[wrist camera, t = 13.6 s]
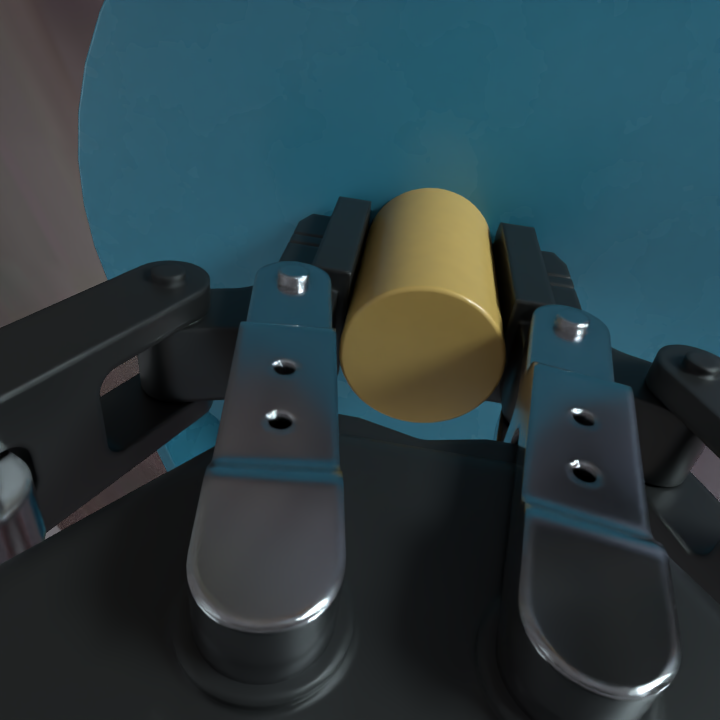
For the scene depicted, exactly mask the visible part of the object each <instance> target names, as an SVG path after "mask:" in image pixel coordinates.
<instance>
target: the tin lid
mask: <svg viewBox="0 0 720 720" xmlns="http://www.w3.org/2000/svg"><path fill="white" fill-rule="evenodd" d="M78 162H79V170H80V178H81V186H82V194H83V201H84V207H85V211H86V215H87V219H88V222H89V226H90V230H91V234H92V238H93V242H94V246H95V249H96V251H97V254H98V256H99V259H100V261H101V264H102V266H103V269H104V272H105V274H106V277H107V279H108V280H110V279H112V278H114V277H116V276H119V275H121V274H123V273H125V272H128V271H130V270H132V269H134V268H137V267H139V266H141V265H144V264H147V263H151V262H156V261H165V260H173V261H183V262H188V263H192V264H194V265H197V266H199V267H201V268H203V269H204V270H205V271H206V272H207V273H208V274H209V277H210V289H217V288H243V287H249V286H253V284H254V279H255V275H256V272H257V271H258V270H259V269H260V268H261V267H263V266H265V265H268V264H270V263H274V262H279V260H280V258H281V256H282V254H283V252H284V250H285V248H286V246H287V244H288V242H290V238H291V237H292V235H293V234H294V231H295V229H296V227H297V225H298V223H299V221H301V220H302V219H304V218H306V217H308V216H310V215H312V214H318V215H325V216H331V215H332V213H333V211H334V208H335V206H336V203H337V201H338V198H339V196H342V197H348V198H354V199H360V200H367V201H371V212H370V220H369V227H368V234H367V239H366V243H365V247H364V251H363V255H362V258H361V262H360V266H359V270H358V274H357V277H356V281H355V285H354V289H353V293H352V296H351V300H350V304H349V308H348V312H347V315H346V319H345V323H344V327H343V330H342V334H341V338H340V344H339V360H340V369H339V374H338V376H337V383H338V414H342V415H347V416H353V417H359V418H362V419H365V420H368V421H371V422H373V423H376V424H379V425H382V426H384V427H387V428H390V429H393V430H396V431H398V432H401V433H404V434H407V435H410V436H412V437H415V438H419V439H423V440H465V439H488V440H493V438H494V432H495V427H496V423H497V420H498V418H499V415H500V412H501V409H502V404H501V403H495V402H489V401H485V400H486V399H487V398H488V397H489V396H490V395H491V394H492V392H493V391H494V390H495V388H496V387H497V385H498V383H499V382H500V380H501V378H502V375H503V372H504V369H505V363H506V347H505V339H504V332H503V324H502V316H501V309H500V301H499V294H498V286H497V279H496V271H495V263H494V256H493V248H492V246H493V243H494V239H495V235H496V232H497V229H498V226H499V224H500V223H501V222H502V223H509V224H515V225H521V226H527V227H533V228H534V229H535V232H536V235H537V239H538V242H539V246H540V249H541V251H546V252H552V253H554V254H555V255H557V256H558V257H559V258H560V259H561V260H562V261H563V262H564V263H565V264H566V265H567V267H568V270H569V273H570V276H571V278H570V279H572V282H573V285H574V289H575V291H576V293H577V296H578V299H579V302H580V305H581V308H582V310H583V311H586V312H588V313H590V314H592V315H593V316H595V317H597V318H598V319H600V320H601V321H602V322H603V323H604V324H605V325H606V326H607V328H608V329H609V332H610V338H611V347H612V348H614V349H616V350H618V351H621V352H623V353H626V354H629V355H631V356H634V357H637V358H640V359H643V360H646V361H649V362H652V363H653V361H654V359H655V357H656V355H657V353H658V351H659V350H660V349H661V348H662V347H664V346H667V345H676V344H678V345H687V346H692V347H696V348H699V349H702V350H705V351H708V352H710V353H712V354H714V355H716V356H718V357H720V0H105V1H104V3H103V5H102V7H101V10H100V12H99V16H98V19H97V23H96V26H95V30H94V33H93V37H92V40H91V44H90V47H89V51H88V54H87V58H86V61H85V68H84V75H83V82H82V89H81V97H80V104H79V111H78ZM223 405H224V400H213V404H212V406H211V408H210V410H209V412H210V413H211V414H213V415H214V416H215V417H216V418H218V419H219V420H220V419H221V414H222V409H223Z"/></svg>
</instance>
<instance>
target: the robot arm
mask: <svg viewBox="0 0 720 720" xmlns="http://www.w3.org/2000/svg"><path fill="white" fill-rule="evenodd" d="M370 212H371V201H367V200H360V199H354V198H348V197H342V196H339V198H338V201H337V203H336V206H335V208H334V211H333V213H332V215H331V216H325V215H318V214H312V215H310V216H308V217H306V218H304V219H302V220H301V221H299V223H298V225H297V227H296V229H295V231H294V234H293V235H292V237H291V238H290V242H288V244H287V246H286V248H285V250H284V252H283V254H282V256H281V258H280V260H279V262H274V263H270V264H268V265H265V266H263V267H261V268H260V269H259V270H258V271H257V272H256V275H255V279H254V284H253V286H249V287H243V288H217V289H210V277H209V274H208V273H207V272H206V271H205V270H204V269H203V268H201V267H199V266H197V265H194V264H192V263H188V262H183V261H173V260H165V261H156V262H151V263H147V264H144V265H141V266H139V267H137V268H134V269H132V270H130V271H128V272H125V273H123V274H121V275H119V276H116V277H114V278H112V279H110V280H107V281H105V282H103V283H101V284H98V285H96V286H94V287H92V288H89V289H87V290H85V291H83V292H80V293H78V294H76V295H74V296H71V297H69V298H67V299H65V300H62V301H60V302H58V303H56V304H53V305H51V306H49V307H47V308H44V309H42V310H40V311H38V312H35V313H33V314H31V315H29V316H26V317H24V318H22V319H20V320H17V321H15V322H13V323H11V324H8V325H6V326H4V327H2V328H0V720H720V502H719V501H718V500H717V499H716V498H715V497H714V496H713V495H712V494H711V493H710V492H709V491H708V489H707V488H706V487H705V486H704V485H703V484H702V483H701V482H700V481H699V480H698V479H697V478H696V477H695V476H694V475H693V474H692V473H691V472H690V471H691V469H692V467H693V466H694V464H695V463H696V461H697V459H698V458H699V456H700V455H701V453H702V451H703V450H704V448H705V446H707V447H708V448H709V449H710V450H711V451H712V452H713V453H714V454H715V455H717V456H718V457H719V458H720V357H718V356H716V355H714V354H712V353H710V352H708V351H705V350H702V349H699V348H696V347H692V346H687V345H678V344H676V345H667V346H664V347H662V348H661V349H660V350H659V351H658V353H657V355H656V357H655V359H654V361H653V363H652V362H649V361H646V360H643V359H640V358H637V357H634V356H631V355H629V354H626V353H623V352H621V351H618V350H616V349H614V348H612V347H611V338H610V332H609V329H608V328H607V326H606V325H605V324H604V323H603V322H602V321H601V320H600V319H598V318H597V317H595V316H593V315H592V314H590V313H588V312H586V311H583V310H582V308H581V305H580V302H579V299H578V296H577V293H576V291H575V289H574V285H573V282H572V279H570V278H571V276H570V273H569V270H568V267H567V265H566V264H565V263H564V262H563V261H562V260H561V259H560V258H559V257H558V256H557V255H555V254H554V253H552V252H546V251H541V249H540V246H539V242H538V239H537V235H536V232H535V229H534V228H533V227H527V226H521V225H515V224H509V223H502V222H501V223H500V224H499V226H498V229H497V232H496V235H495V239H494V243H493V246H492V248H493V256H494V263H495V271H496V279H497V286H498V294H499V301H500V309H501V316H502V324H503V332H504V339H505V347H506V363H505V369H504V372H503V375H502V378H501V380H500V382H499V383H498V385H497V387H496V388H495V390H494V391H493V392H492V394H491V395H490V396H489V397H488V398H487V399H486V400H485V401H489V402H495V403H501V404H502V409H501V412H500V415H499V418H498V420H497V423H496V427H495V432H494V438H493V440H488V439H465V440H423V439H419V438H415V437H412V436H410V435H407V434H404V433H401V432H398V431H396V430H393V429H390V428H387V427H384V426H382V425H379V424H376V423H373V422H371V421H368V420H365V419H362V418H359V417H353V416H347V415H342V414H338V383H337V376H338V374H339V369H340V360H339V344H340V338H341V334H342V330H343V327H344V323H345V319H346V315H347V312H348V308H349V304H350V300H351V296H352V293H353V289H354V285H355V281H356V277H357V274H358V270H359V266H360V262H361V258H362V255H363V251H364V247H365V243H366V239H367V234H368V227H369V220H370ZM136 355H138V364H139V374H137V375H136V376H134V377H132V378H131V379H129V380H128V381H126V382H124V383H123V384H121V385H119V386H118V387H116V388H114V389H113V390H111V391H109V392H108V393H106V394H104V395H103V396H101V397H100V388H101V385H102V383H103V381H104V379H105V378H106V376H107V375H108V374H109V373H110V372H111V371H112V370H113V369H114V368H116V367H117V366H119V365H121V364H123V363H124V362H126V361H128V360H130V359H131V358H133V357H135V356H136ZM213 400H224V405H223V409H222V414H221V419H220V424H219V429H218V434H217V439H216V444H215V446H214V447H212V448H210V449H208V450H206V451H205V452H203V453H201V454H199V455H197V456H196V457H194V458H192V459H190V460H188V461H187V462H185V463H183V464H181V465H179V466H177V467H176V468H174V469H172V470H170V471H168V472H167V473H165V474H163V475H161V476H159V477H158V478H156V479H154V480H152V481H150V482H149V483H147V484H145V485H143V486H141V487H139V488H138V489H136V490H134V491H132V492H130V493H129V494H127V495H125V496H123V497H121V498H120V499H118V500H116V501H114V502H112V503H111V504H109V505H107V506H105V507H103V508H101V509H100V510H98V511H96V512H94V513H92V514H91V515H89V516H87V517H85V518H83V519H82V520H80V521H78V522H76V523H74V524H72V525H71V526H69V527H67V528H65V529H63V530H62V531H60V532H58V533H57V534H54V535H53V536H51V537H49V538H47V539H45V535H46V532H48V531H49V530H51V529H52V528H53V527H55V526H56V525H57V524H59V523H60V522H61V521H63V520H64V519H65V518H67V517H68V516H69V515H71V514H72V513H73V512H75V511H76V510H77V509H79V508H80V507H81V506H83V505H84V504H85V503H87V502H88V501H89V500H91V499H92V498H93V497H95V496H96V495H98V494H99V493H100V492H102V491H103V490H104V489H106V488H107V487H108V486H110V485H111V484H112V483H114V482H115V481H116V480H118V479H119V478H120V477H122V476H123V475H124V474H126V473H127V472H128V471H130V470H131V469H132V468H134V467H135V466H136V465H138V464H139V463H140V462H142V461H143V460H145V459H146V458H147V457H149V456H150V455H151V454H153V453H154V452H155V451H157V450H158V449H159V448H161V447H162V446H163V445H165V444H166V443H167V442H169V441H170V440H171V439H173V438H174V437H175V436H177V435H178V434H179V433H181V432H182V431H183V430H185V429H186V428H187V427H189V426H190V425H192V424H193V423H194V422H196V421H197V420H198V419H200V418H201V417H202V416H204V415H205V414H206V413H207V412H208V411H209V410H210V408H211V406H212V404H213Z"/></svg>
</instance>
